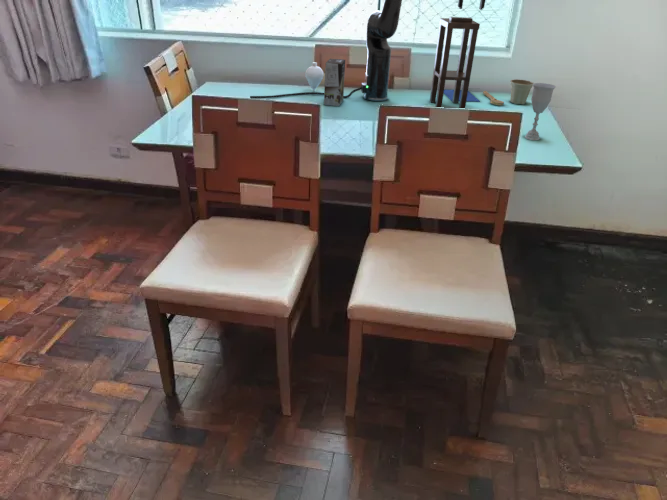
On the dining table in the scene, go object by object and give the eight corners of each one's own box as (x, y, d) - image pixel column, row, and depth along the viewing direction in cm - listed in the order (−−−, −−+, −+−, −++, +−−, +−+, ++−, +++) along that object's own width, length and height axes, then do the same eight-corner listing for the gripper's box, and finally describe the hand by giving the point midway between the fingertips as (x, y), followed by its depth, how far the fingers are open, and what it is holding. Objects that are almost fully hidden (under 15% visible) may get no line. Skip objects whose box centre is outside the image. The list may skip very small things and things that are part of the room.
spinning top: (302, 93, 231) (303, 63, 225) (307, 89, 238) (308, 59, 232) (320, 95, 230) (321, 65, 224) (325, 90, 237) (326, 61, 231)
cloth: (451, 101, 232) (451, 100, 232) (441, 90, 247) (441, 89, 247) (479, 101, 233) (479, 101, 233) (467, 90, 248) (467, 90, 248)
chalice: (538, 135, 197) (551, 83, 188) (545, 141, 191) (559, 88, 182) (518, 134, 196) (529, 82, 187) (525, 140, 191) (537, 87, 182)
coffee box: (339, 106, 217) (341, 63, 208) (323, 105, 217) (324, 62, 209) (343, 100, 224) (346, 59, 216) (328, 99, 225) (329, 57, 217)
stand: (435, 109, 220) (448, 19, 203) (428, 101, 230) (440, 14, 213) (465, 110, 221) (480, 20, 204) (457, 101, 231) (470, 15, 215)
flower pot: (529, 101, 237) (533, 80, 233) (529, 106, 230) (534, 85, 225) (506, 98, 239) (510, 78, 235) (506, 104, 232) (510, 83, 227)
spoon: (478, 93, 244) (482, 82, 241) (490, 94, 245) (494, 84, 242) (488, 113, 231) (493, 102, 227) (501, 115, 231) (506, 104, 228)
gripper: (491, -36, 222) (484, 8, 231) (457, -37, 221) (450, 7, 229) (498, -35, 216) (490, 11, 224) (462, -36, 215) (455, 9, 223)
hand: (470, 9), depth 227 cm, fingers open, 8 cm apart
